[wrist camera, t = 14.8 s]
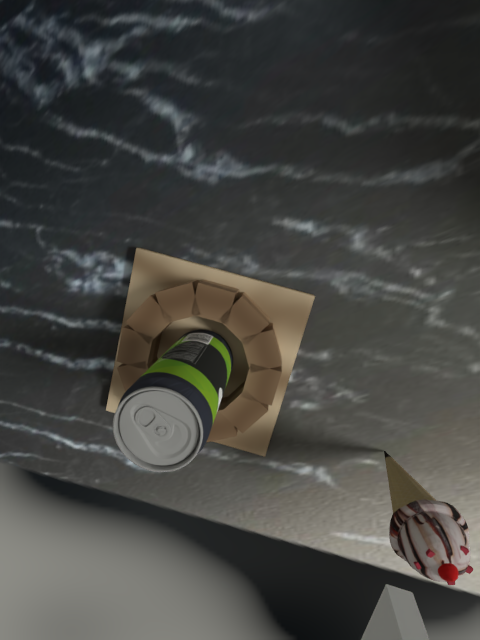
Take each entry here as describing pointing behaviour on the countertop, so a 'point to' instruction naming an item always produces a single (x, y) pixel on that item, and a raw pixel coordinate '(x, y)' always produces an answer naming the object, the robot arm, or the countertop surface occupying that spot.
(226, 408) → the holder
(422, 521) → the ice cream cone
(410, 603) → the robot arm
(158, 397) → the beverage can
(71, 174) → the countertop surface
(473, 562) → the countertop surface
